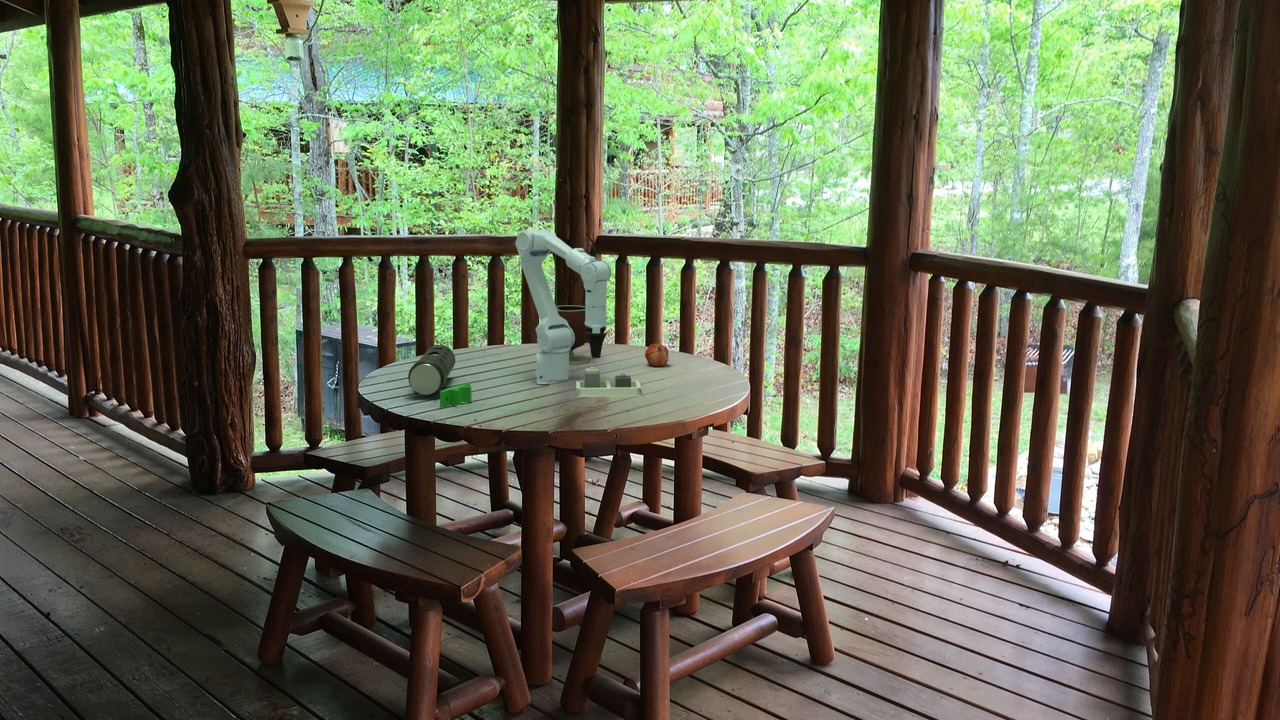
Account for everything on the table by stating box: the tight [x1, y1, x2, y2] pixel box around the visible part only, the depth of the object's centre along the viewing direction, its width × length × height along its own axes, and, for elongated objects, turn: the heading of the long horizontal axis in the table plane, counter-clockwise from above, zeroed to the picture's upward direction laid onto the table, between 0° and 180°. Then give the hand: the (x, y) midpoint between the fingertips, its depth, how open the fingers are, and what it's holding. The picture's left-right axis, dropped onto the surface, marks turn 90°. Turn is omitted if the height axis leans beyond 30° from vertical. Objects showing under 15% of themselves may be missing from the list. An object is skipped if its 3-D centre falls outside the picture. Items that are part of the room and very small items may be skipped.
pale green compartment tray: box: [575, 379, 642, 398], centre depth 260 cm, size 17×11×3 cm, turn 94°
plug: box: [614, 373, 632, 388], centre depth 260 cm, size 4×4×5 cm
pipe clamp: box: [439, 382, 473, 408], centre depth 250 cm, size 11×4×5 cm, turn 153°
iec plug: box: [583, 366, 601, 388], centre depth 260 cm, size 4×4×7 cm
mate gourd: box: [555, 304, 589, 366], centre depth 307 cm, size 16×14×20 cm
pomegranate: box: [644, 342, 669, 367], centre depth 303 cm, size 7×7×10 cm
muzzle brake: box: [407, 344, 456, 396], centre depth 268 cm, size 10×28×10 cm, turn 4°
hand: (595, 355), depth 266 cm, fingers open, 7 cm apart
